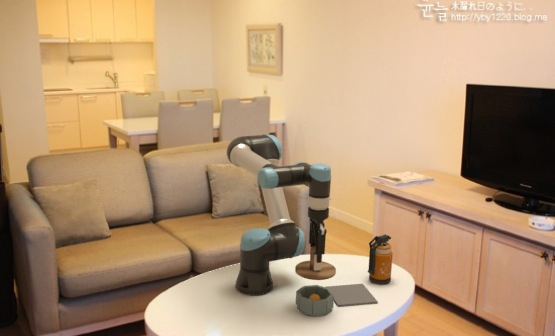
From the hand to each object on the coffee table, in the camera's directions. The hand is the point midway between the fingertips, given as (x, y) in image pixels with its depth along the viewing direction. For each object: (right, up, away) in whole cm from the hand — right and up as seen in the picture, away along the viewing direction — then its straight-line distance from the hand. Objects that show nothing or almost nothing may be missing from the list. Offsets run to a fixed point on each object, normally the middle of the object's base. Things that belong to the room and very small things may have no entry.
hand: (315, 266), depth 208 cm
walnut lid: (0, -2, 0) cm, 2 cm away
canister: (+28, -11, +28) cm, 41 cm away
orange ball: (0, -13, +3) cm, 13 cm away
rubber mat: (+15, -14, +14) cm, 25 cm away
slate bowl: (0, -16, +4) cm, 16 cm away
